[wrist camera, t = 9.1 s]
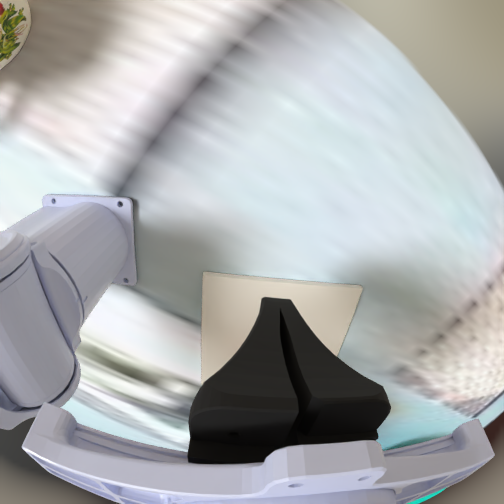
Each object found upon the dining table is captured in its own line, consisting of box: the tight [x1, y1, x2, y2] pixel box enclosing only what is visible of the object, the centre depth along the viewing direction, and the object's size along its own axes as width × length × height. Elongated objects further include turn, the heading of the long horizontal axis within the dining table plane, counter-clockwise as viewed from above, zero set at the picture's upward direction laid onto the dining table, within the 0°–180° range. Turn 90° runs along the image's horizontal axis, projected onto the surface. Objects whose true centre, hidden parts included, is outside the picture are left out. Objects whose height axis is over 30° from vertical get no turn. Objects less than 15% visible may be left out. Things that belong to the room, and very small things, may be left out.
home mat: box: [201, 271, 363, 385], centre depth 28 cm, size 14×18×1 cm
